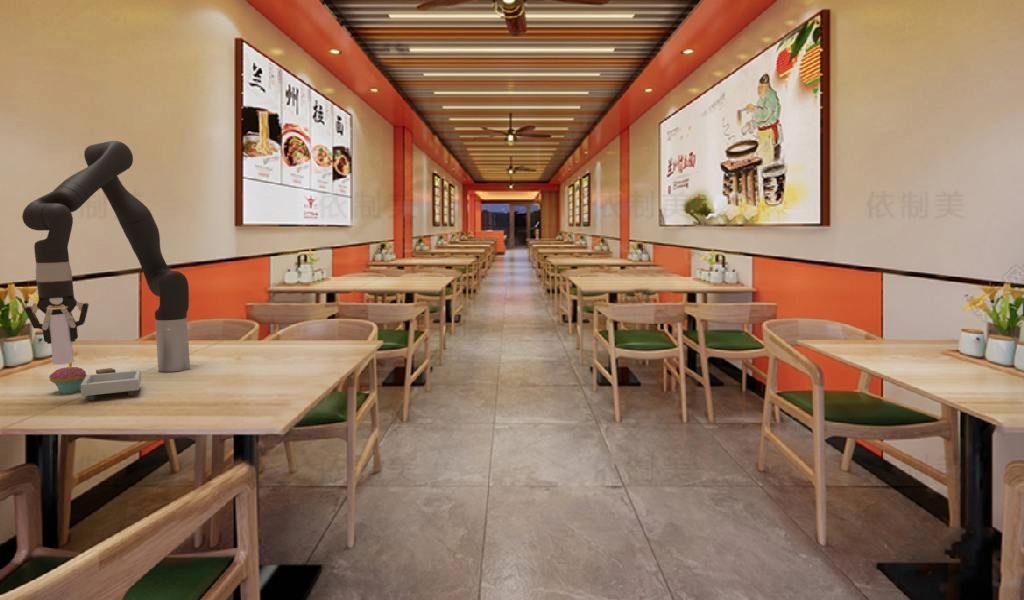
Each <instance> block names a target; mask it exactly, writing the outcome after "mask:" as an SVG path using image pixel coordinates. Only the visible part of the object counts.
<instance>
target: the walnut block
mask: <svg viewBox="0 0 1024 600" xmlns="http://www.w3.org/2000/svg"><path fill="white" fill-rule="evenodd" d="M115 372H117V371H116V369H114V368H112V367H109V368H108V367H107V368H100V369H95V374H104V373H115Z"/></svg>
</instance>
